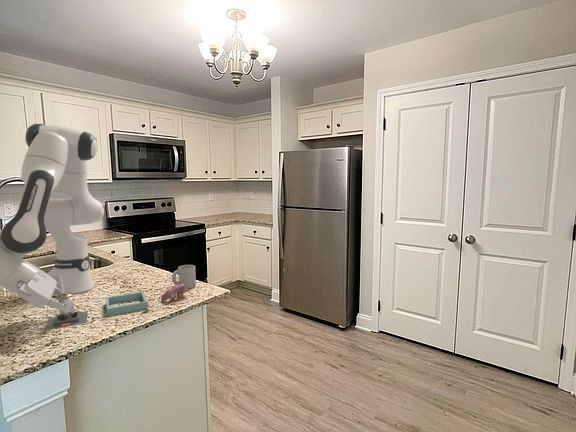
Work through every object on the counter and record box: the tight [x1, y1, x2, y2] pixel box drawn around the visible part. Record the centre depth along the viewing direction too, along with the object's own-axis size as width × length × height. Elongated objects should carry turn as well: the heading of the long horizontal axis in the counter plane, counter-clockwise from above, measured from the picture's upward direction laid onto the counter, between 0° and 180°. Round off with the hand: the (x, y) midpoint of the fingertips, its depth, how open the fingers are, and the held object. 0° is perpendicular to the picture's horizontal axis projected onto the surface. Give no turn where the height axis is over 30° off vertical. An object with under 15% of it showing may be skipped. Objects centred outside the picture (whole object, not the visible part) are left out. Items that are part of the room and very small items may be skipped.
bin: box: [105, 291, 149, 317], centre depth 115 cm, size 13×13×4 cm
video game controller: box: [160, 284, 189, 302], centre depth 126 cm, size 10×5×7 cm, turn 149°
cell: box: [57, 293, 75, 321], centre depth 103 cm, size 4×4×9 cm
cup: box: [171, 264, 197, 290], centre depth 140 cm, size 7×10×9 cm
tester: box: [43, 310, 89, 332], centre depth 103 cm, size 11×11×3 cm
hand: (63, 302), depth 102 cm, fingers open, 8 cm apart
